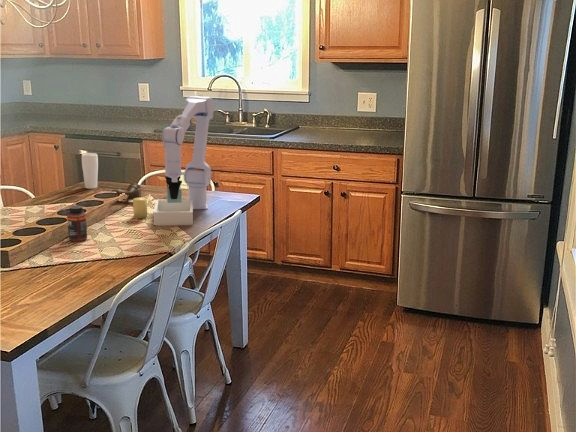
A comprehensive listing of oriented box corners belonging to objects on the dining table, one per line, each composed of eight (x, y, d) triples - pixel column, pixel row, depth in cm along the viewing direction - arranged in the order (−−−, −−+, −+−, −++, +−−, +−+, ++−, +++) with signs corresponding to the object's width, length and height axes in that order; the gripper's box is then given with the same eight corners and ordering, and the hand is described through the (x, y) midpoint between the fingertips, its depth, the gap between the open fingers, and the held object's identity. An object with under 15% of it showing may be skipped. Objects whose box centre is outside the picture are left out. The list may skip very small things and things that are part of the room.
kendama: (146, 195, 269) (138, 206, 250) (123, 195, 269) (113, 206, 249) (145, 181, 268) (137, 191, 248) (123, 181, 267) (112, 191, 248)
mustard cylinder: (134, 215, 237) (133, 197, 236) (147, 215, 238) (147, 197, 236) (133, 219, 233) (132, 200, 231) (146, 219, 233) (146, 200, 232)
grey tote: (156, 211, 243) (156, 199, 242) (192, 211, 245) (192, 199, 244) (153, 225, 226) (153, 212, 224) (192, 225, 228) (192, 212, 227)
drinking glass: (80, 188, 272) (78, 155, 268) (87, 185, 279) (85, 152, 275) (94, 190, 271) (93, 156, 267) (101, 186, 278) (100, 153, 274)
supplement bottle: (89, 236, 211) (87, 204, 208) (84, 242, 205) (82, 209, 202) (71, 236, 211) (69, 204, 208) (66, 242, 205) (64, 208, 202)
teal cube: (166, 199, 232) (166, 186, 230) (180, 199, 233) (180, 186, 232) (167, 202, 227) (167, 189, 226) (181, 202, 228) (181, 189, 227)
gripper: (186, 164, 220) (186, 201, 224) (182, 156, 234) (182, 191, 237) (165, 164, 218) (166, 202, 222) (163, 156, 232) (163, 192, 236)
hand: (173, 197), depth 230 cm, fingers closed on teal cube, 5 cm apart
